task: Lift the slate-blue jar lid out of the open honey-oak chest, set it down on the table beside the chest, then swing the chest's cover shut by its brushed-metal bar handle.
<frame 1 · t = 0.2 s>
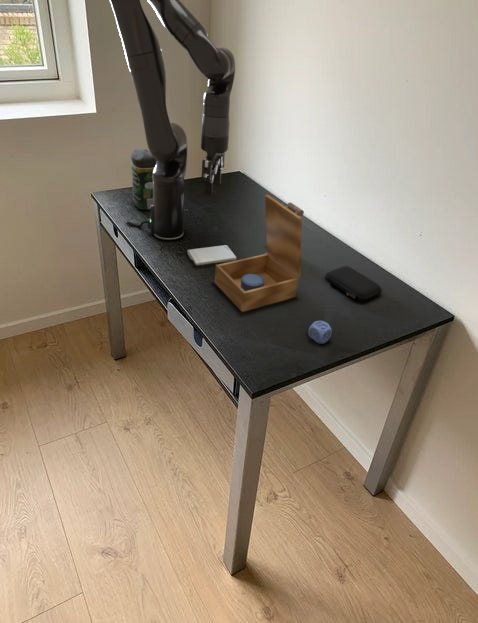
hand: (212, 189, 140), 17 cm above the table, tool pointing down, fingers open, 8 cm apart
carrying case: (350, 288, 135), on the table
decorative dice: (318, 339, 115), on the table
video game controller: (273, 255, 147), on the table
coffee jar: (145, 206, 168), on the table
blue lid: (251, 290, 129), point 1 cm above the table, touching chest
chest: (254, 292, 129), on the table
hard drive: (211, 258, 142), on the table
cover: (289, 233, 124), point 16 cm above the table, hinge at 80.0°
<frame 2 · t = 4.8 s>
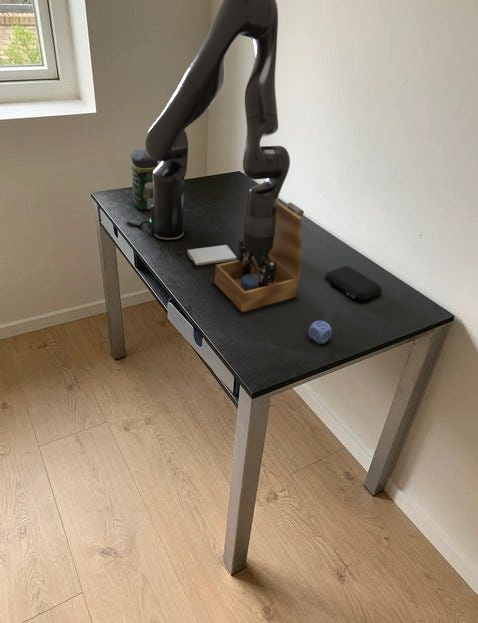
hand: (253, 285, 128), 2 cm above the table, tool pointing down, fingers open, 7 cm apart
nothing on the table moved.
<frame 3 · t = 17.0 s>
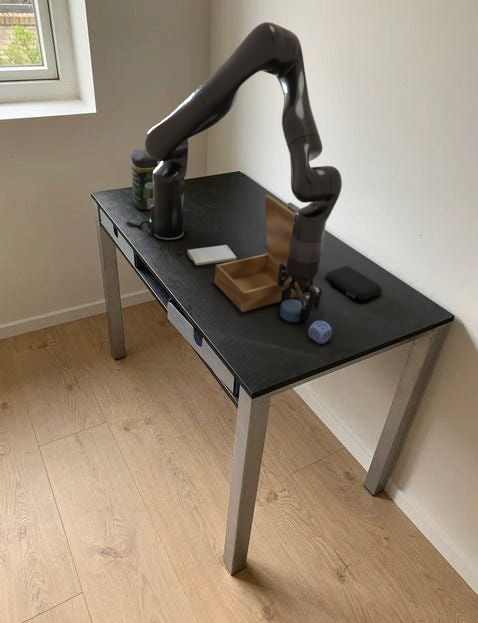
hand: (294, 311, 120), 2 cm above the table, tool pointing down, fingers open, 7 cm apart
blue lid: (291, 316, 122), on the table
everything else where it was.
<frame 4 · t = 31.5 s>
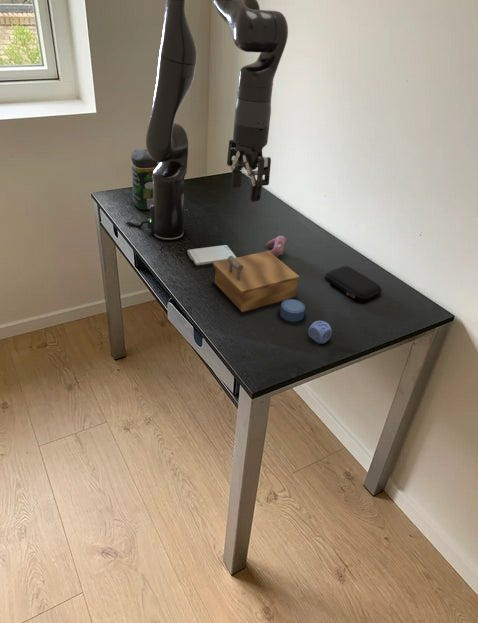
hand: (245, 193, 111), 28 cm above the table, tool pointing down, fingers open, 8 cm apart
cover: (256, 263, 124), point 9 cm above the table, hinge at -0.2°, touching chest
everything else where it was.
at the end: blue lid inside the target area (0.2 cm from its centre), on the table; blue lid tilted 0°; cover at +0° (first picture: +80°) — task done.
